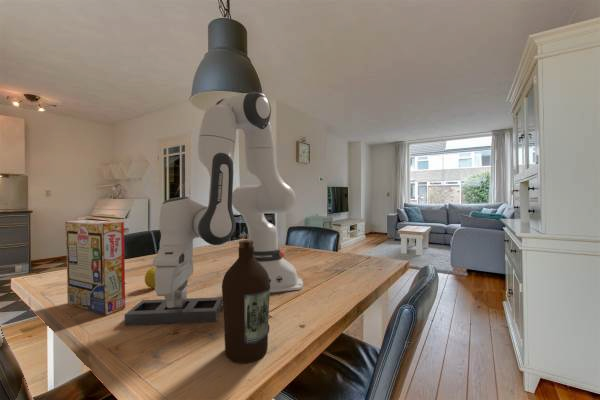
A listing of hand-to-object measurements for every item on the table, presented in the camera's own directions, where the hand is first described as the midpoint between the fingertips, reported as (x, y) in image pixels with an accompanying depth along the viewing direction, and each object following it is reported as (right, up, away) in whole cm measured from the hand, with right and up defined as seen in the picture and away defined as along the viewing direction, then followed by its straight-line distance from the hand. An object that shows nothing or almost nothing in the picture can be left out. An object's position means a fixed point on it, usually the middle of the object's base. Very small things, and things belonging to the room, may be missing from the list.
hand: (177, 299), depth 79 cm
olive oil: (+24, -5, -18) cm, 30 cm away
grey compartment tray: (0, -5, 0) cm, 5 cm away
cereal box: (-29, -5, +6) cm, 30 cm away
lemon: (-19, -4, +22) cm, 30 cm away
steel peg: (0, -5, 0) cm, 5 cm away
